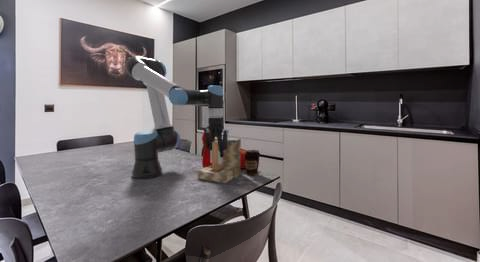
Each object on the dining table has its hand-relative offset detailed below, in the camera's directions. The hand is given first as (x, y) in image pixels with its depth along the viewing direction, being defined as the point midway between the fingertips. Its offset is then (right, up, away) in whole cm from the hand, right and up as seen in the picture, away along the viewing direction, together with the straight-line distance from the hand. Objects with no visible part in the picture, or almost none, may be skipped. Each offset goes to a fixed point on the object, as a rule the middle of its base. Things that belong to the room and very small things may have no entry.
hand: (216, 162), depth 120 cm
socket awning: (+2, -8, +4) cm, 9 cm away
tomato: (+12, -6, +21) cm, 24 cm away
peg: (0, -3, 0) cm, 3 cm away
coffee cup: (+19, -8, +7) cm, 21 cm away
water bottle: (-6, -5, +24) cm, 26 cm away
